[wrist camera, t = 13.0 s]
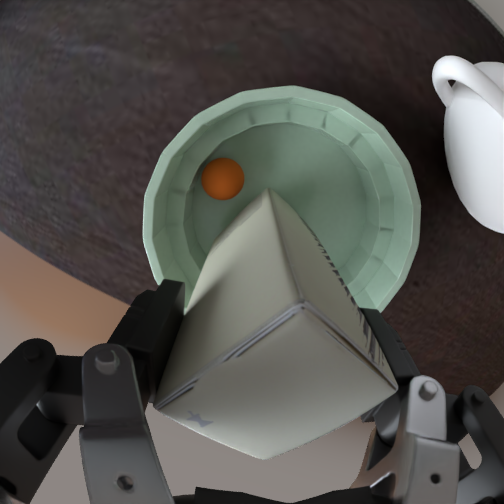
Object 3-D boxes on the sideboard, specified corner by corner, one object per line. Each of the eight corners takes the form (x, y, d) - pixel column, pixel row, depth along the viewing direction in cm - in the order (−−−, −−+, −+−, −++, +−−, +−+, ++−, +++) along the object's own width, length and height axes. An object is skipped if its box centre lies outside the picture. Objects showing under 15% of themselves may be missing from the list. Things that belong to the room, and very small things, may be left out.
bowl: (167, 288, 22) (145, 331, 17) (187, 88, 16) (160, 70, 11) (348, 315, 22) (367, 360, 17) (402, 134, 17) (446, 137, 11)
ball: (198, 171, 18) (189, 169, 15) (233, 152, 17) (229, 147, 15) (217, 206, 18) (210, 209, 16) (252, 187, 18) (251, 187, 15)
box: (260, 282, 19) (259, 466, 7) (211, 238, 18) (141, 413, 6) (319, 229, 17) (408, 395, 6) (270, 179, 16) (302, 300, 4)
